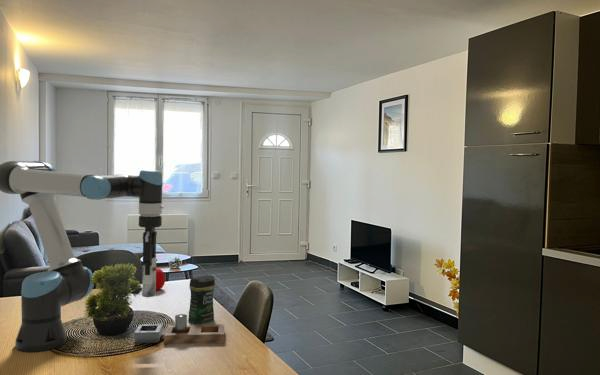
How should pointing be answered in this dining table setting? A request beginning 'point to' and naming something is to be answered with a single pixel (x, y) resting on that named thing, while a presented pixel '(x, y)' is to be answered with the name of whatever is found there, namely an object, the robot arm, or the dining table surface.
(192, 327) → the rack
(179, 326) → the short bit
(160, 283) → the tomato
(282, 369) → the dining table surface
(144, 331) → the socket block
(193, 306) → the coffee jar
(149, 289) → the grey metal cylinder
